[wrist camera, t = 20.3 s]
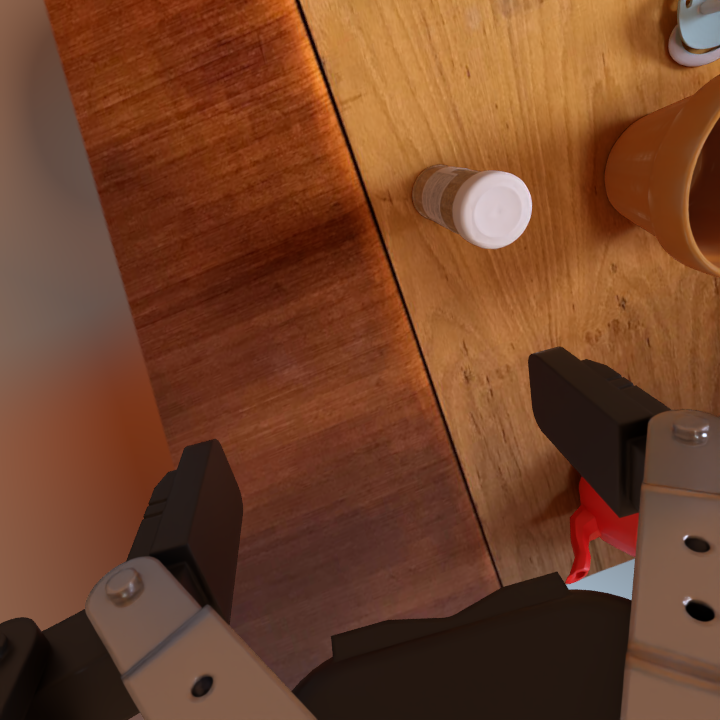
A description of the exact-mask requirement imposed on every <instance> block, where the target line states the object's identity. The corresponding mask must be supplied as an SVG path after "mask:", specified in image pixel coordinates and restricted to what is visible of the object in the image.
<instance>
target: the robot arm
mask: <svg viewBox="0 0 720 720" xmlns="http://www.w3.org/2000/svg"><path fill="white" fill-rule="evenodd" d="M528 367H529V378H530V388H531V399H532V409H533V413H534V417H535V420H536V422H537V424H538V426H539V428H540V429H541V431H542V432H543V433H544V434H545V435H546V436H547V438H548V439H549V440H550V441H551V442H552V443H553V444H554V445H555V447H556V448H557V449H558V450H559V451H560V452H561V453H562V454H563V455H564V457H565V458H566V459H567V460H568V461H569V462H570V463H571V464H572V466H573V467H574V468H575V469H576V470H577V471H578V472H579V473H580V475H581V476H582V477H583V478H584V479H585V480H586V481H587V482H588V483H589V485H590V486H591V487H592V488H593V489H594V490H595V491H596V492H597V494H598V495H599V496H600V497H601V498H602V499H603V500H604V501H605V503H606V504H607V505H608V506H609V507H610V508H611V509H612V510H613V511H614V513H615V514H616V515H617V516H618V517H619V518H622V517H625V516H629V515H632V514H636V513H639V519H638V531H637V543H636V555H635V568H634V579H633V591H632V600H629V599H626V598H623V597H620V596H616V595H612V594H609V593H604V592H598V591H591V590H569V589H568V588H567V586H566V585H565V583H564V581H563V580H562V578H561V577H560V575H559V574H558V572H554V573H551V574H547V575H544V576H540V577H537V578H533V579H530V580H526V581H523V582H519V583H516V584H512V585H509V586H505V587H502V588H500V589H499V590H497V591H495V592H493V593H492V594H490V595H488V596H486V597H485V598H483V599H481V600H479V601H478V602H476V603H474V604H473V605H471V606H469V607H467V608H466V609H464V610H462V611H460V612H459V613H457V614H455V615H453V616H450V617H446V618H427V619H403V620H386V621H382V622H379V623H375V624H372V625H368V626H365V627H361V628H358V629H354V630H351V631H347V632H344V633H340V634H337V635H333V636H331V640H332V651H333V657H332V658H330V659H328V660H326V661H325V662H323V663H322V664H321V665H319V666H318V667H316V668H315V669H314V670H312V671H311V672H310V673H309V674H308V675H307V676H306V677H305V678H304V679H302V680H301V681H300V682H299V684H298V685H297V686H296V687H295V688H294V689H293V690H292V691H290V690H289V689H288V688H287V687H286V685H285V684H284V683H283V682H282V681H281V680H280V679H279V678H278V677H277V676H276V675H275V674H274V673H273V672H272V671H271V670H270V668H269V667H268V666H267V665H266V664H265V663H264V662H263V661H262V660H261V659H260V658H259V657H258V656H257V655H256V654H255V653H254V651H253V650H252V649H251V648H250V647H249V646H248V645H247V644H246V643H245V642H244V641H243V640H242V639H241V638H240V637H239V636H238V634H237V633H236V632H235V631H234V630H233V629H232V628H231V627H230V626H229V625H230V616H231V608H232V600H233V591H234V583H235V575H236V566H237V558H238V550H239V541H240V533H241V525H242V516H243V503H242V497H241V493H240V490H239V487H238V484H237V482H236V480H235V477H234V475H233V472H232V470H231V468H230V465H229V463H228V461H227V458H226V456H225V453H224V451H223V449H222V446H221V444H220V443H219V441H218V440H217V439H213V440H209V441H205V442H201V443H198V444H194V445H190V446H187V447H185V448H184V451H183V454H182V456H181V459H180V462H179V465H178V468H177V470H174V471H170V472H168V473H167V474H166V475H165V476H164V478H163V479H162V480H161V481H160V482H159V483H158V485H157V486H156V487H155V488H154V491H153V493H152V497H151V499H150V501H149V506H148V507H147V509H146V511H145V514H144V520H142V522H141V524H140V527H139V530H138V532H137V535H136V537H135V540H134V543H133V545H132V548H131V550H130V553H129V555H128V558H127V561H126V562H124V563H122V564H120V565H118V566H117V567H115V568H114V569H112V570H111V571H110V572H108V573H107V574H106V575H105V576H104V577H102V579H100V580H99V582H98V583H97V584H96V585H95V586H94V588H93V589H92V591H91V592H90V594H89V595H88V598H87V600H86V605H85V609H84V610H82V611H80V612H79V613H77V614H75V615H73V616H71V617H69V618H67V619H65V620H63V621H62V622H60V623H58V624H56V625H54V626H52V627H50V628H48V629H46V630H44V631H41V630H40V629H39V628H38V626H37V625H36V623H35V622H34V621H33V620H32V619H29V618H24V617H21V618H15V619H11V620H8V621H5V622H3V623H1V624H0V720H128V719H130V718H132V717H133V716H135V715H137V714H138V713H141V715H142V717H143V718H144V720H720V417H718V416H715V415H713V414H710V413H706V412H702V411H697V410H685V409H680V410H671V409H669V408H668V407H667V406H665V405H664V404H662V403H661V402H659V401H658V400H656V399H655V398H653V397H652V396H651V395H649V394H648V393H646V392H645V391H643V390H642V389H640V388H639V387H637V386H634V385H633V383H632V382H630V381H629V380H627V379H626V378H624V377H623V378H622V377H621V375H620V374H618V373H617V372H616V371H614V370H613V369H611V368H610V367H608V366H607V365H604V364H600V363H597V362H594V361H591V360H588V359H585V360H582V361H581V360H579V359H578V358H576V357H575V356H574V355H572V354H571V353H570V352H568V351H567V350H565V349H564V348H563V347H555V348H552V349H548V350H544V351H541V352H537V353H533V354H531V355H530V356H529V359H528Z"/></svg>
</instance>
